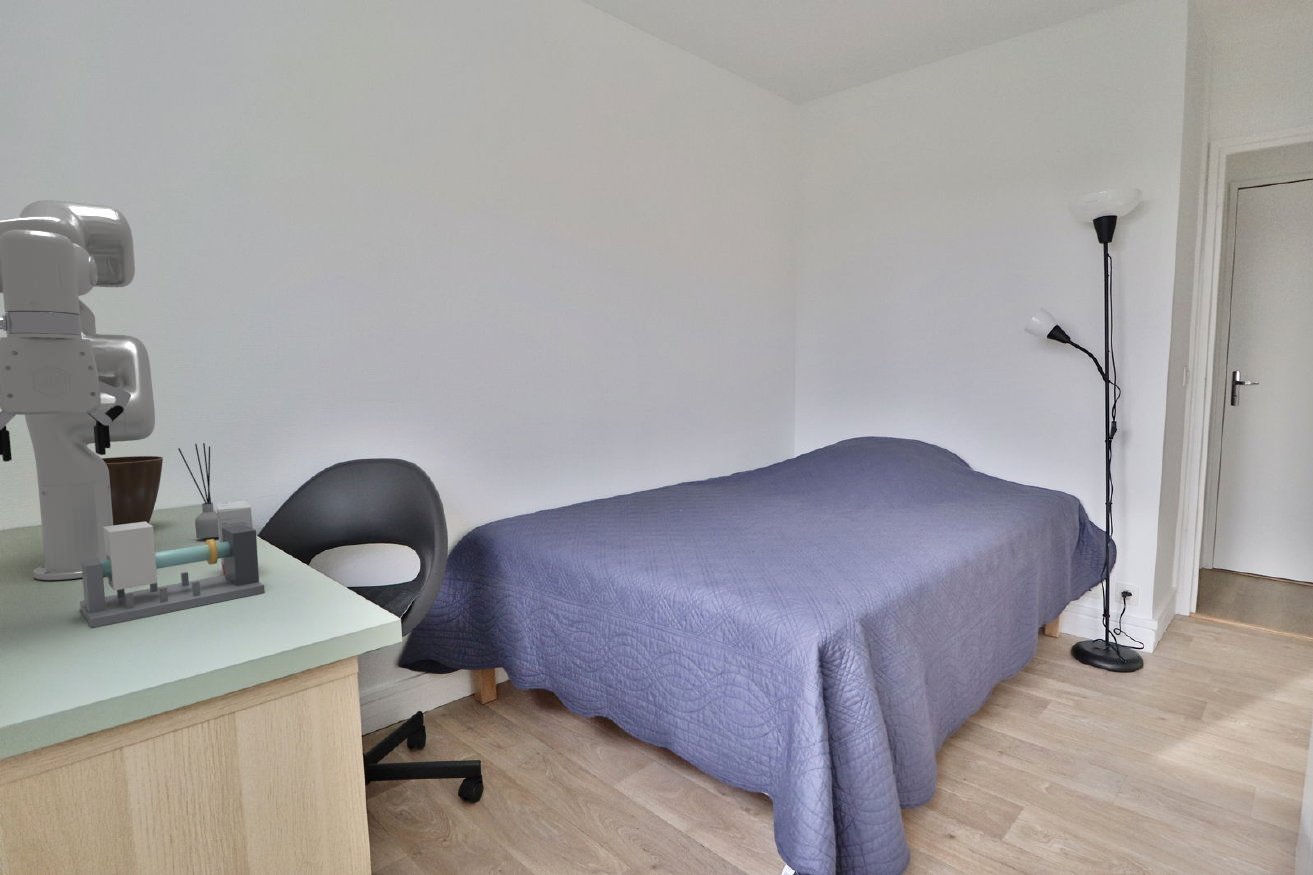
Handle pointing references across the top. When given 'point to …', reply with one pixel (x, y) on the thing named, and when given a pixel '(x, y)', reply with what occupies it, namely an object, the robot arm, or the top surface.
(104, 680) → the top surface
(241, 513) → the ink box
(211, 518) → the reed diffuser
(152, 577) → the sleeve
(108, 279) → the robot arm
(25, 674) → the top surface
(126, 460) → the plant pot
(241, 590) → the motor shaft test rig
